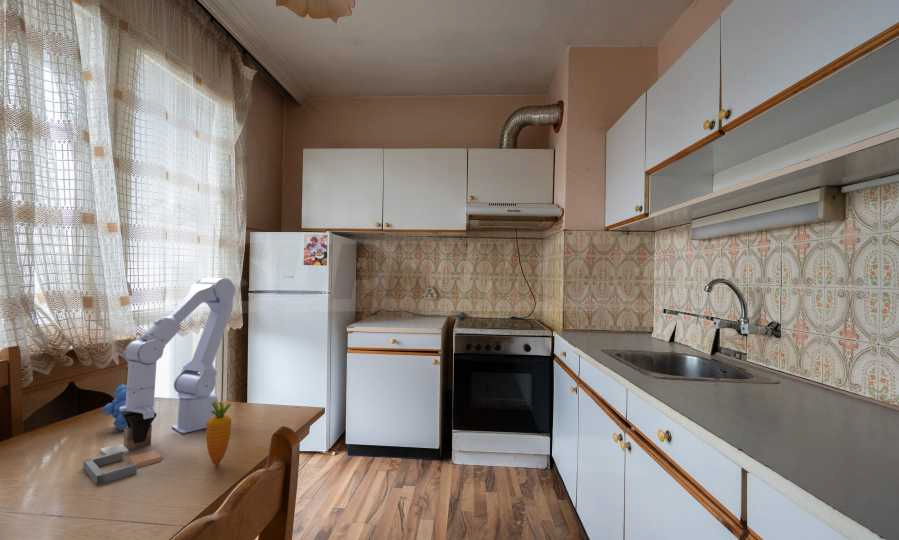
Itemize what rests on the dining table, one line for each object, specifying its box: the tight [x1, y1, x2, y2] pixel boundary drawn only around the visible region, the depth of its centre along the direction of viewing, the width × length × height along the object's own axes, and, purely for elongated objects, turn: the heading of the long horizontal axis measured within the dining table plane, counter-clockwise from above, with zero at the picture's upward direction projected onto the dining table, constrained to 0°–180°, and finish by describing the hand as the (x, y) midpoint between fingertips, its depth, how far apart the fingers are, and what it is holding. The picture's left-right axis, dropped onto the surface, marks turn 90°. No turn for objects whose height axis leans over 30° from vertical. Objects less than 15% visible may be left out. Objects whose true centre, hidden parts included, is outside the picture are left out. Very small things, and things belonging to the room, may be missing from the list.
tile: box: [127, 449, 162, 468], centre depth 91 cm, size 5×5×2 cm
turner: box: [100, 424, 153, 456], centre depth 97 cm, size 9×6×5 cm, turn 144°
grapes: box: [101, 384, 128, 431], centre depth 109 cm, size 12×7×12 cm, turn 46°
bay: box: [82, 451, 137, 486], centre depth 86 cm, size 7×11×2 cm, turn 54°
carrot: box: [205, 401, 232, 467], centre depth 90 cm, size 5×5×15 cm
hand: (137, 440), depth 99 cm, fingers closed on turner, 2 cm apart
